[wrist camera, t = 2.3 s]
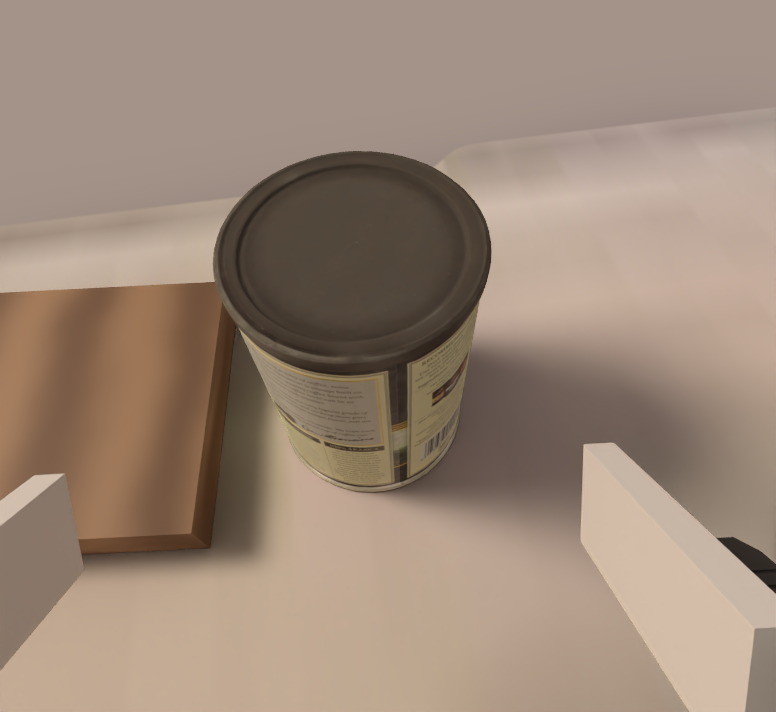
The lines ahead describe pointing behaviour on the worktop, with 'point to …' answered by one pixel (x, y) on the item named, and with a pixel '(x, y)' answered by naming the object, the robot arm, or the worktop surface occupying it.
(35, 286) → the worktop surface
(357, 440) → the coffee can
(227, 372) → the walnut board
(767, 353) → the worktop surface
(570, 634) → the worktop surface
